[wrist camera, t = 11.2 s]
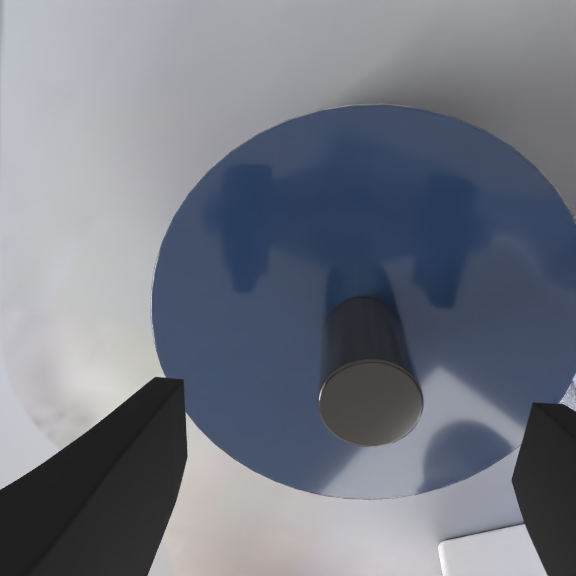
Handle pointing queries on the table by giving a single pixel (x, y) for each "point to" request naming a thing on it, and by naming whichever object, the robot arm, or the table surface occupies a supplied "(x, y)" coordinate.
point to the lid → (368, 301)
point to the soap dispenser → (491, 554)
